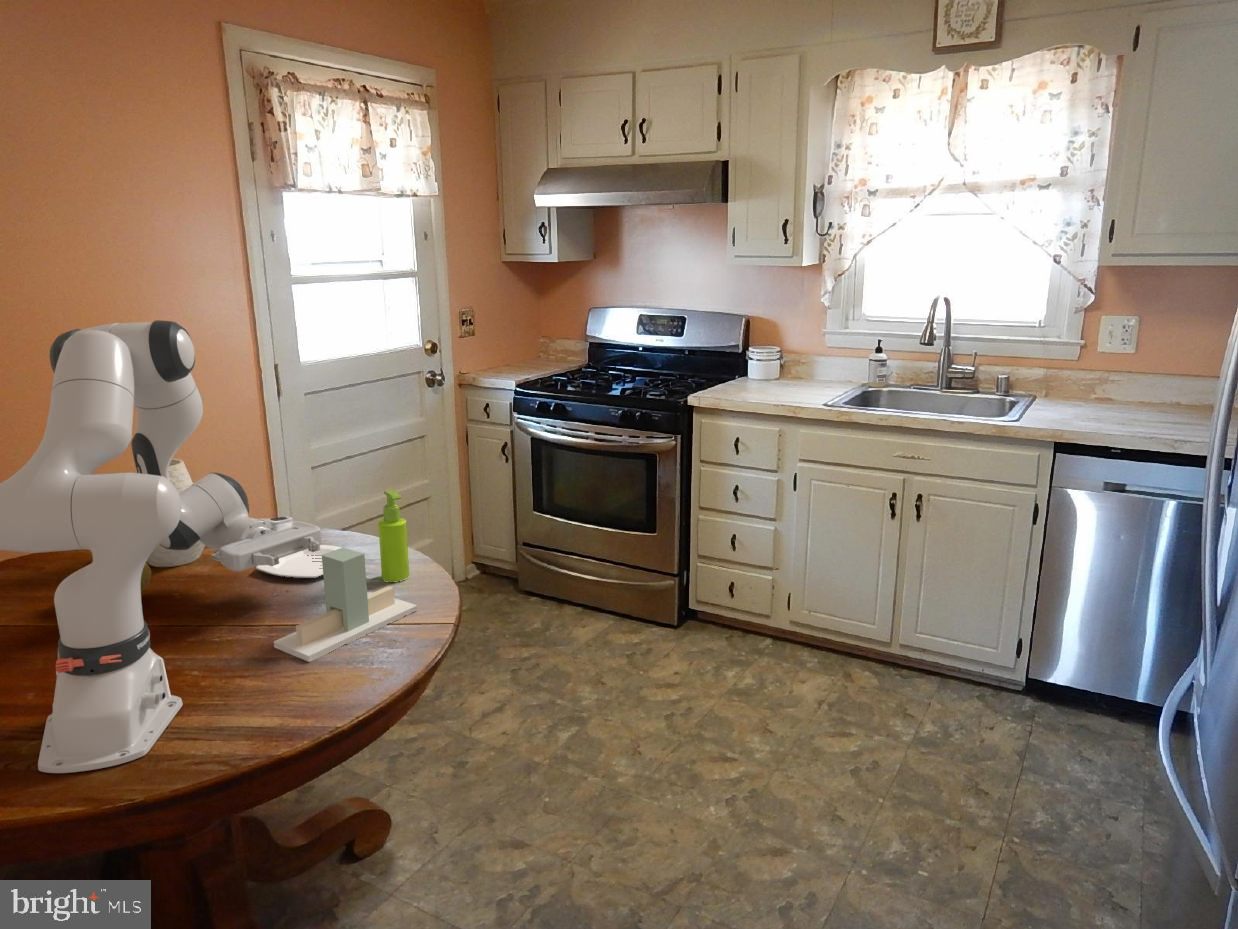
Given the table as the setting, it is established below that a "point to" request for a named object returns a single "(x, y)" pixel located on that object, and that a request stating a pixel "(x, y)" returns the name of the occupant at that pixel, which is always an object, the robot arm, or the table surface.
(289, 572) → the plate
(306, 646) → the rail board
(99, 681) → the robot arm
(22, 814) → the table surface
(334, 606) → the tall rectangular block
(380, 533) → the soap dispenser
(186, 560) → the vase
